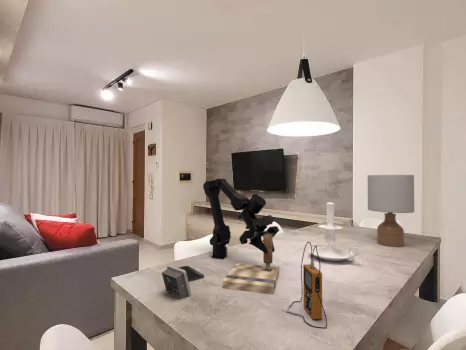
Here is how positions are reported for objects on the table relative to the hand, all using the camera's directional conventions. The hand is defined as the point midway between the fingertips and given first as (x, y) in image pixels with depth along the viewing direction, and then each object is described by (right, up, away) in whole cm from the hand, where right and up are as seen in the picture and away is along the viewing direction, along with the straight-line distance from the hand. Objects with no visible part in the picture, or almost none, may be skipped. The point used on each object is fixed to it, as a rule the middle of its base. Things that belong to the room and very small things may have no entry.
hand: (270, 252), depth 100 cm
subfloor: (-7, -10, -3) cm, 13 cm away
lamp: (+81, -12, +53) cm, 98 cm away
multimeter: (+4, -9, -28) cm, 30 cm away
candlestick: (+35, -11, +23) cm, 43 cm away
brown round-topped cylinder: (-1, -7, +1) cm, 7 cm away
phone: (-34, -10, +3) cm, 35 cm away
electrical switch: (-34, -10, -16) cm, 38 cm away
